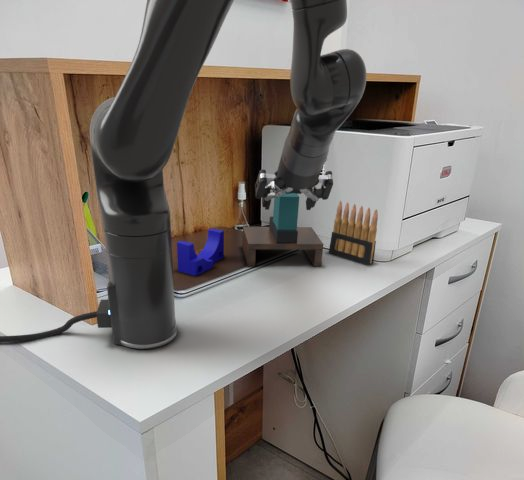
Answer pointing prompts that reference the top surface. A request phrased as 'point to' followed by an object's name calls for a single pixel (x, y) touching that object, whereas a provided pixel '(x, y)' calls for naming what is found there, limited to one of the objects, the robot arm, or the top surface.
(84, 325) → the top surface
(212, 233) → the blue u-shaped cradle
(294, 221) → the teal block on base
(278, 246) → the walnut shelf
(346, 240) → the ammunition clip
